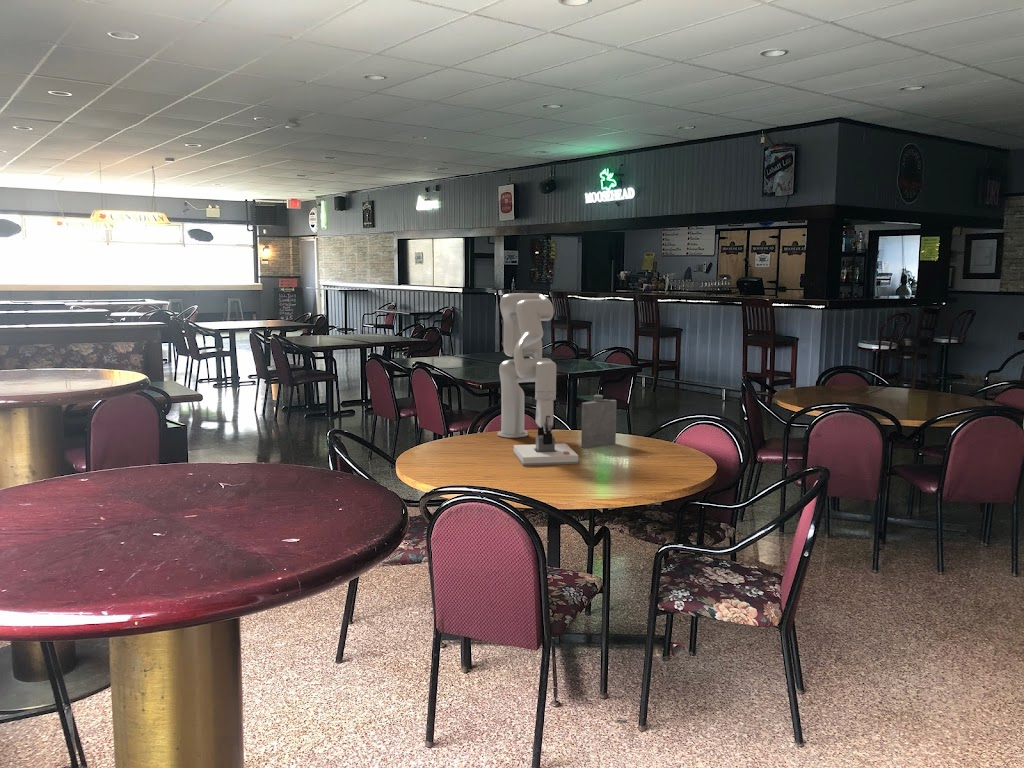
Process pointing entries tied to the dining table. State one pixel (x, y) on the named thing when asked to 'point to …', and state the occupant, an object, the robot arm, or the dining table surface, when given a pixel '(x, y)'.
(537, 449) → the plug
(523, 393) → the robot arm
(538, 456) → the socket
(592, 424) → the hip flask
